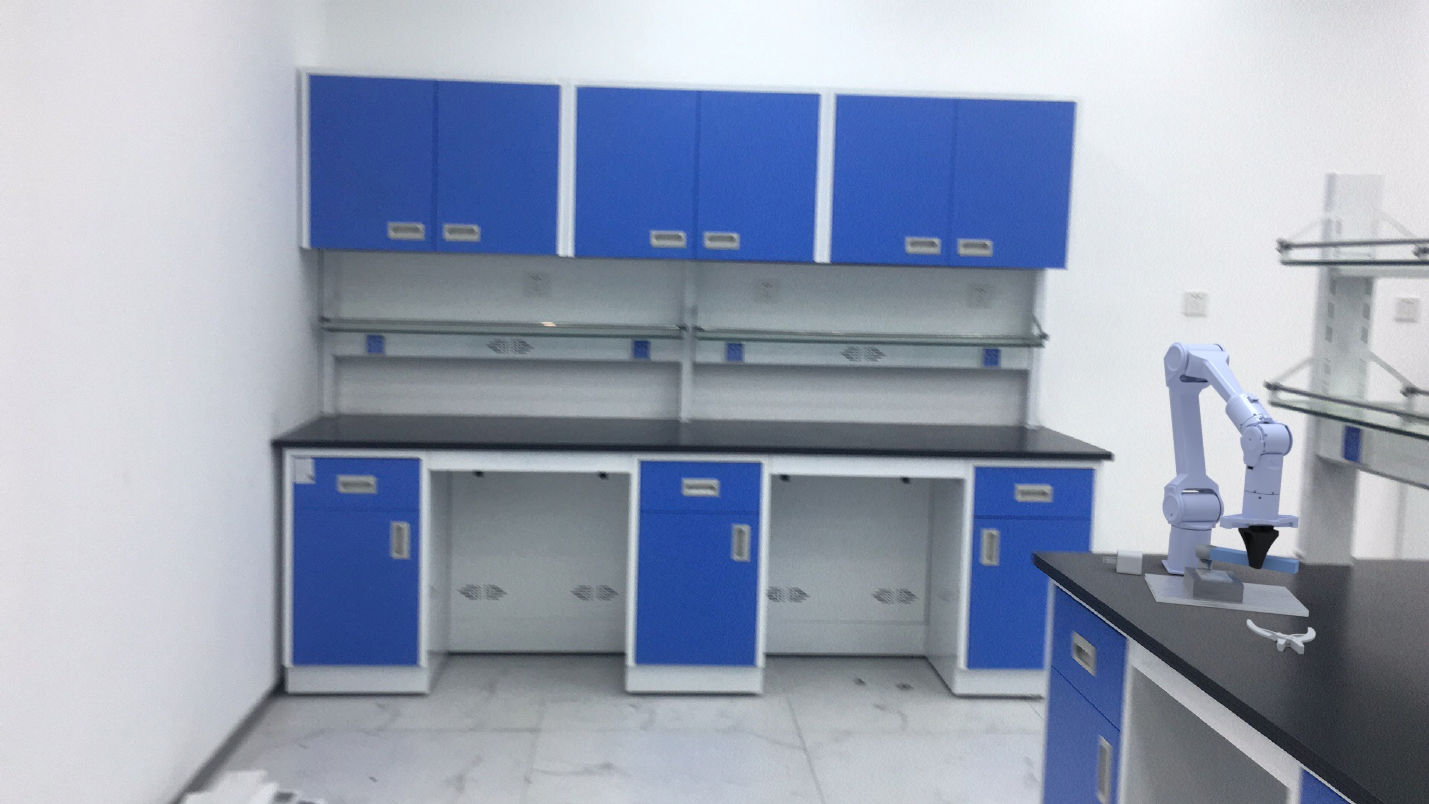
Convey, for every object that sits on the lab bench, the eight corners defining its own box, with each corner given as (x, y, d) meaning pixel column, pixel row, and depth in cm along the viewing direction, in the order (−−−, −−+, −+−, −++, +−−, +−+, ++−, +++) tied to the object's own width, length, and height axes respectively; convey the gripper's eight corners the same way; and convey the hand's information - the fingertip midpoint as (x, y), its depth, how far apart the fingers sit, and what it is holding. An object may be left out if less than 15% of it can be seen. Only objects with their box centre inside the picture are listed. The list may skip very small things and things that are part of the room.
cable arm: (1192, 556, 203) (1193, 546, 203) (1198, 553, 206) (1199, 543, 206) (1294, 574, 193) (1295, 563, 193) (1298, 570, 196) (1299, 559, 195)
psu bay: (1144, 578, 208) (1146, 552, 207) (1284, 592, 202) (1287, 564, 202) (1156, 601, 192) (1158, 572, 192) (1308, 616, 187) (1311, 587, 186)
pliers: (1313, 622, 179) (1328, 649, 165) (1312, 632, 180) (1327, 660, 166) (1246, 613, 183) (1255, 640, 169) (1245, 623, 183) (1254, 650, 169)
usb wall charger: (1140, 576, 210) (1142, 555, 210) (1102, 572, 212) (1103, 551, 212) (1139, 571, 214) (1141, 550, 214) (1101, 567, 216) (1103, 547, 216)
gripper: (1242, 496, 189) (1235, 574, 190) (1314, 495, 192) (1307, 572, 193) (1214, 488, 195) (1208, 564, 197) (1284, 488, 199) (1277, 562, 200)
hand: (1255, 567), depth 196 cm, fingers closed
